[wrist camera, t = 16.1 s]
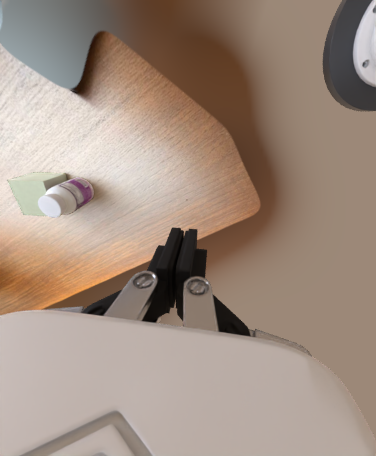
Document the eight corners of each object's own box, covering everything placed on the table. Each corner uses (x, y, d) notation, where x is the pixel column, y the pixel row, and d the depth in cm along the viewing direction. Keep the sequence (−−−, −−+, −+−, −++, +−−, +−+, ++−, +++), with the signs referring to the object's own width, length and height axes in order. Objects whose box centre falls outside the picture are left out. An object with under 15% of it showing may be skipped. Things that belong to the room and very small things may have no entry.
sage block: (65, 173, 39) (42, 181, 34) (75, 205, 42) (56, 216, 37) (33, 172, 39) (6, 179, 34) (45, 203, 43) (23, 215, 38)
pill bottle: (78, 203, 42) (45, 223, 34) (65, 179, 40) (26, 195, 31) (99, 198, 41) (70, 218, 33) (87, 174, 38) (52, 189, 30)
